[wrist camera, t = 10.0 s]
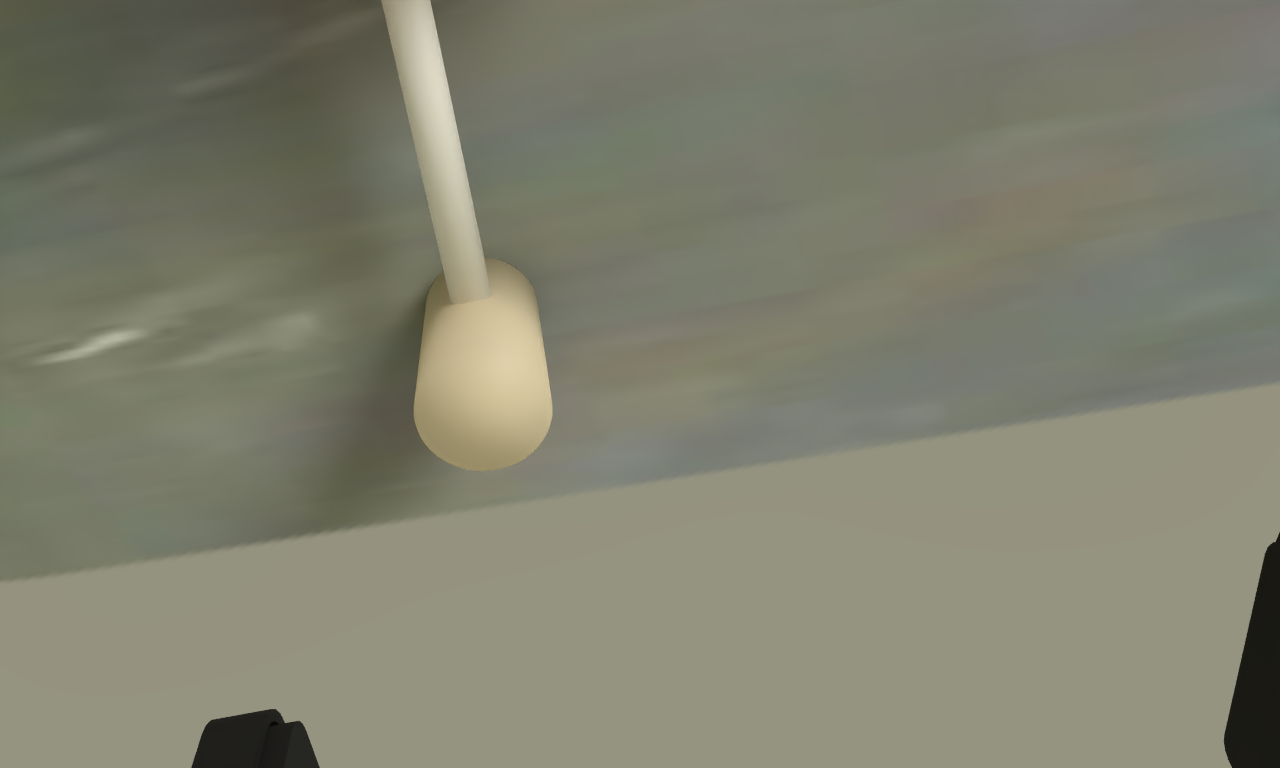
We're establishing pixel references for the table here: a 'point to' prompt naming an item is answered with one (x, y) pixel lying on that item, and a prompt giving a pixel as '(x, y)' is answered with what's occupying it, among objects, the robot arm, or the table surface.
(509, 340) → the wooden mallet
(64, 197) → the table surface
